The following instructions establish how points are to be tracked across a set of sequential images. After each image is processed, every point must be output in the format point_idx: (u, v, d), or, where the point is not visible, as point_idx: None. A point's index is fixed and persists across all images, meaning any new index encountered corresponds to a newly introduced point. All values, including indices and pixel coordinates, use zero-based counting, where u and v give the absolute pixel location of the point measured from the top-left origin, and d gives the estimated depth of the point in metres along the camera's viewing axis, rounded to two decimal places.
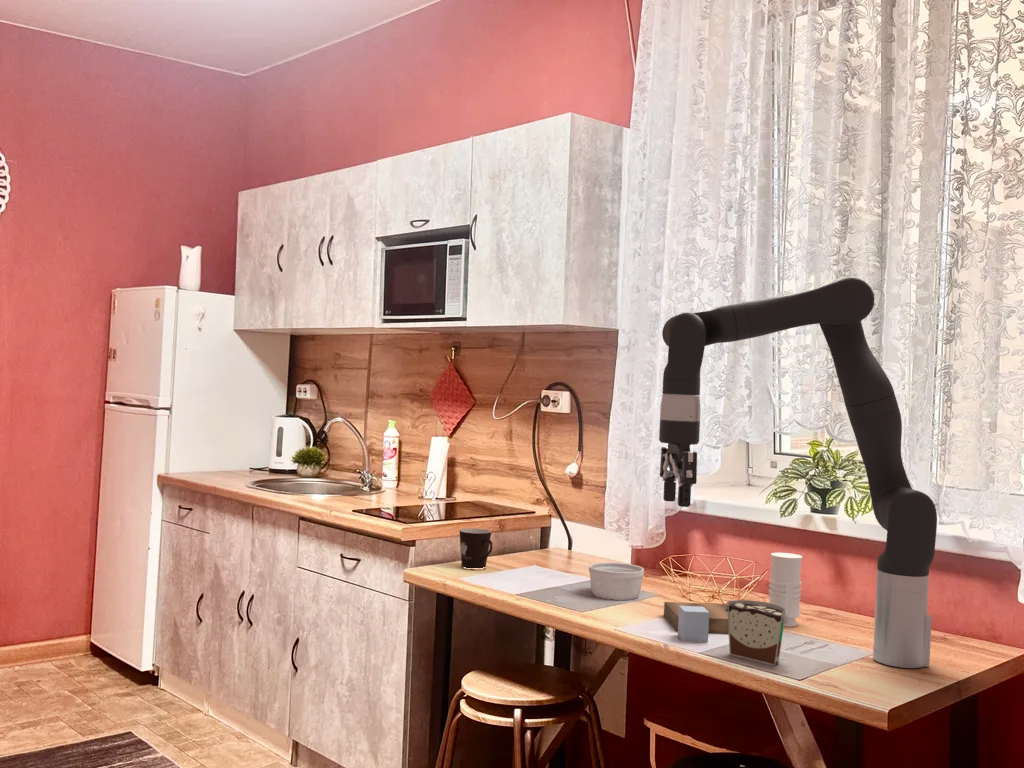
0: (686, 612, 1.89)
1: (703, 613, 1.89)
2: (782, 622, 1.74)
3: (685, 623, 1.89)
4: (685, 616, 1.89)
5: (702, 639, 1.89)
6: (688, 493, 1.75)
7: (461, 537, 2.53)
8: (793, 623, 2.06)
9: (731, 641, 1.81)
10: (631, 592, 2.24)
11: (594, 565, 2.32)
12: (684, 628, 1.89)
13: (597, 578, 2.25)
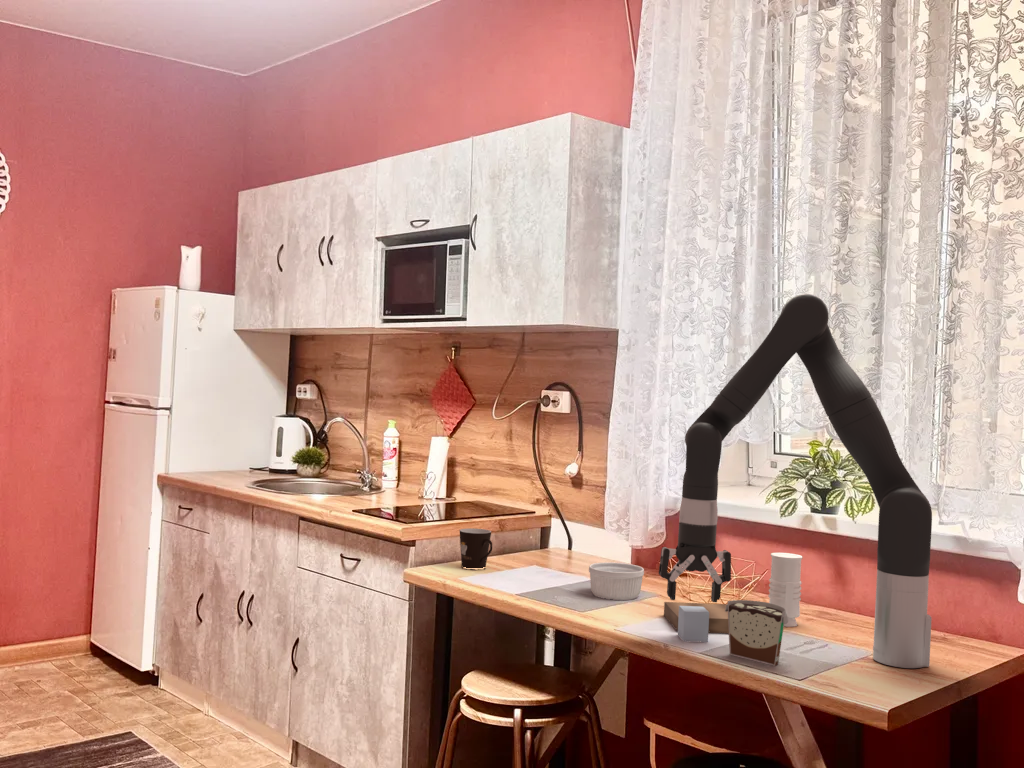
0: (686, 612, 1.89)
1: (703, 613, 1.89)
2: (782, 622, 1.74)
3: (685, 623, 1.89)
4: (685, 616, 1.89)
5: (702, 639, 1.89)
6: None
7: (461, 537, 2.53)
8: (793, 623, 2.06)
9: (731, 641, 1.81)
10: (631, 592, 2.24)
11: (594, 565, 2.32)
12: (684, 628, 1.89)
13: (597, 578, 2.25)
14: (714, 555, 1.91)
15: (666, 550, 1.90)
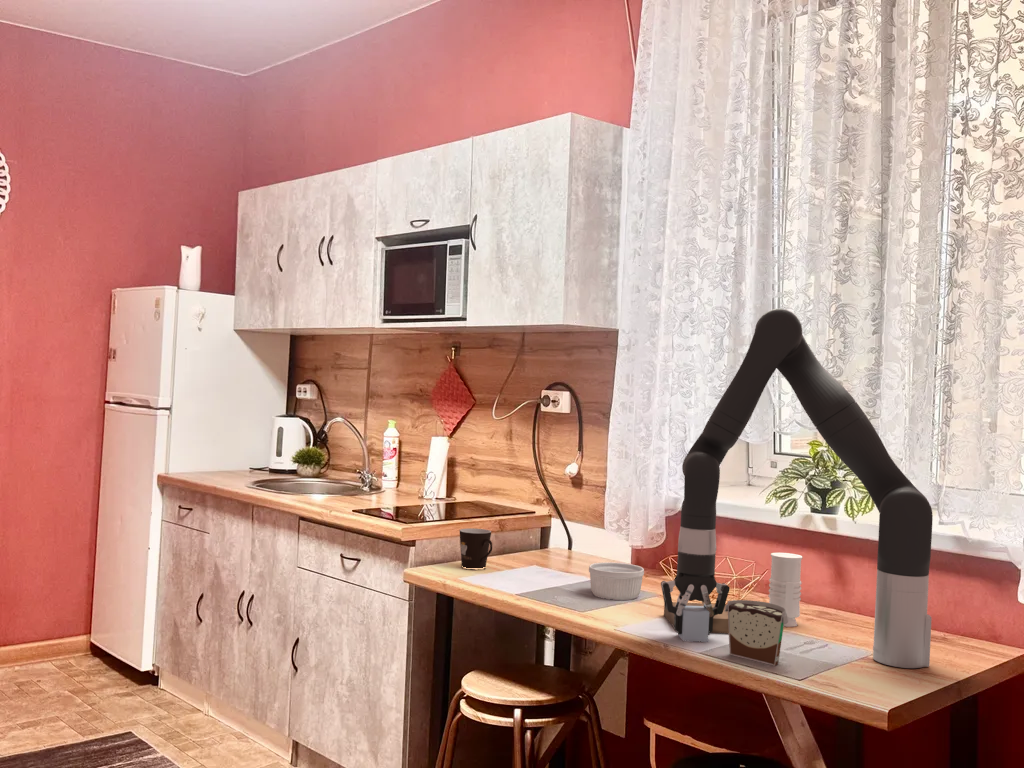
0: (686, 612, 1.89)
1: (703, 613, 1.89)
2: (782, 622, 1.74)
3: (685, 623, 1.89)
4: (685, 616, 1.89)
5: (702, 639, 1.89)
6: None
7: (461, 537, 2.53)
8: (793, 623, 2.06)
9: (731, 641, 1.81)
10: (631, 592, 2.24)
11: (594, 565, 2.32)
12: (684, 627, 1.89)
13: (597, 578, 2.25)
14: (713, 585, 1.91)
15: (665, 585, 1.90)
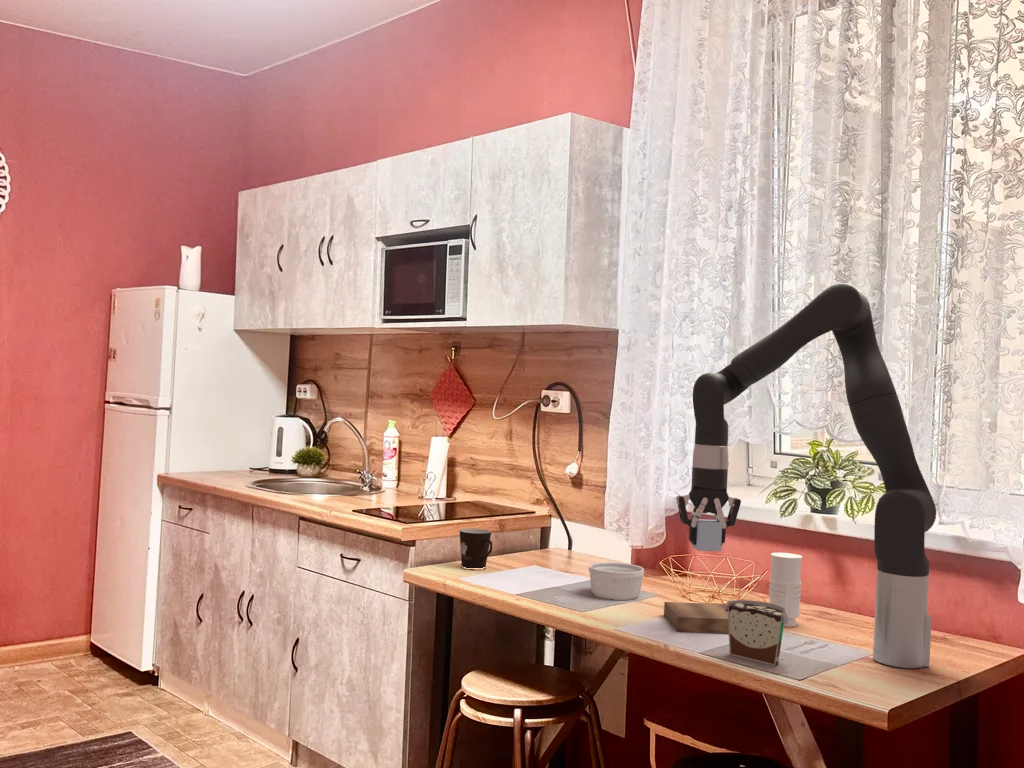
0: (700, 523, 2.01)
1: (716, 524, 2.01)
2: (782, 622, 1.74)
3: (699, 533, 2.01)
4: (699, 527, 2.01)
5: (715, 548, 2.01)
6: None
7: (461, 537, 2.53)
8: (793, 623, 2.06)
9: (731, 641, 1.81)
10: (631, 592, 2.24)
11: (594, 565, 2.32)
12: (699, 537, 2.01)
13: (597, 578, 2.25)
14: (725, 498, 2.03)
15: (680, 498, 2.02)
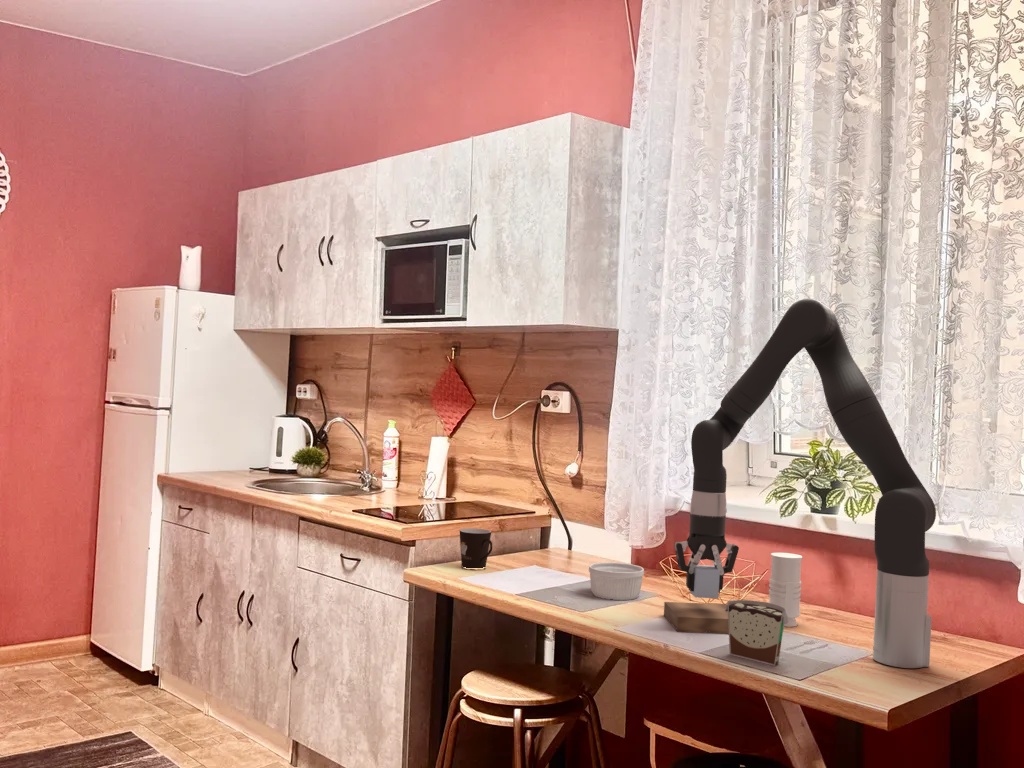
0: (698, 570, 2.01)
1: (714, 571, 2.01)
2: (782, 622, 1.74)
3: (697, 580, 2.01)
4: (697, 574, 2.01)
5: (713, 595, 2.01)
6: None
7: (461, 537, 2.53)
8: (793, 623, 2.06)
9: (731, 641, 1.81)
10: (631, 592, 2.24)
11: (594, 565, 2.32)
12: (696, 584, 2.01)
13: (597, 578, 2.25)
14: (723, 545, 2.03)
15: (678, 545, 2.02)
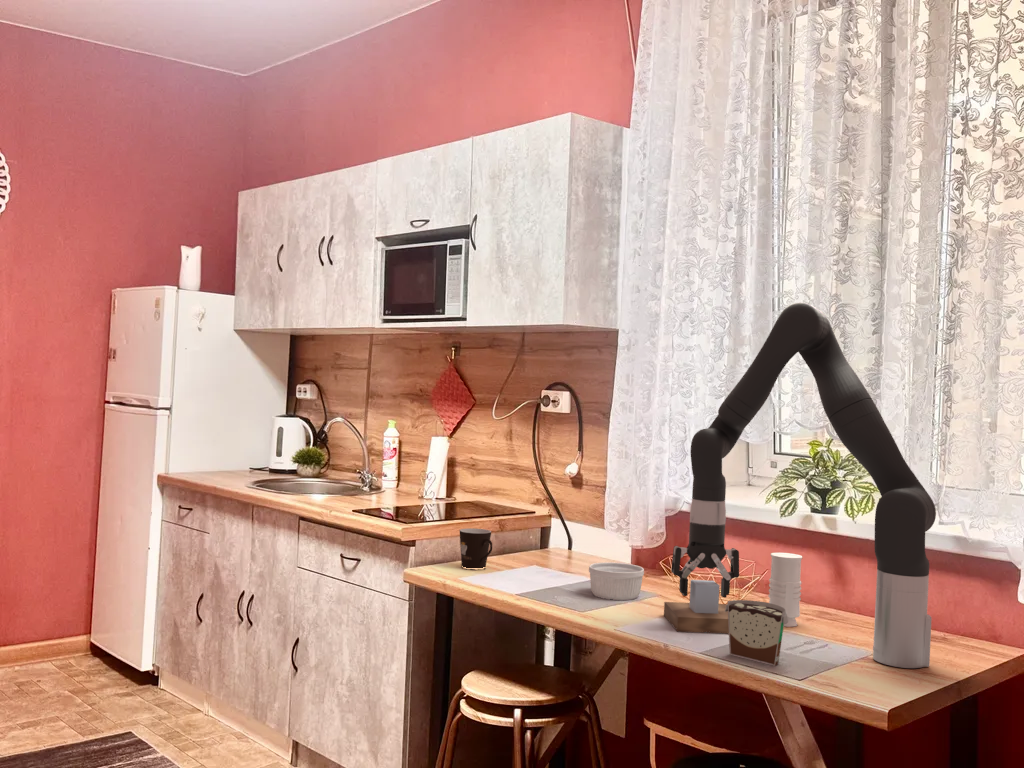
0: (698, 585, 2.01)
1: (714, 586, 2.01)
2: (782, 622, 1.74)
3: (697, 595, 2.01)
4: (697, 589, 2.01)
5: (713, 610, 2.01)
6: None
7: (461, 537, 2.53)
8: (793, 623, 2.06)
9: (731, 641, 1.81)
10: (631, 592, 2.24)
11: (594, 565, 2.32)
12: (696, 600, 2.01)
13: (597, 578, 2.25)
14: (723, 553, 2.03)
15: (678, 549, 2.02)
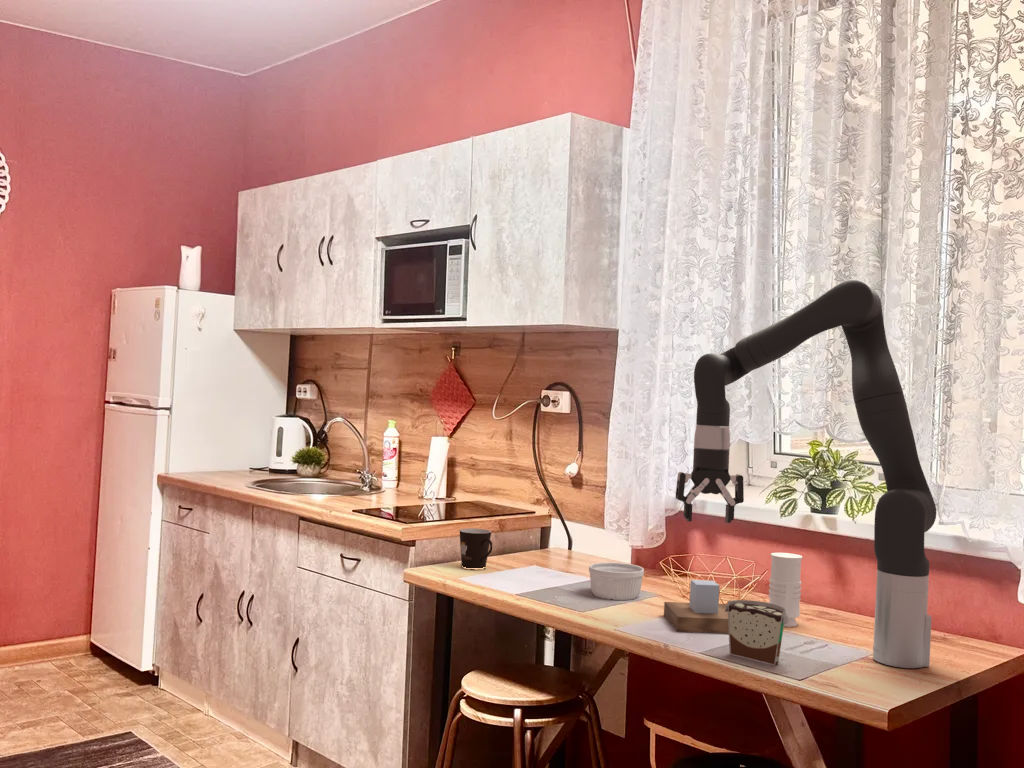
0: (698, 585, 2.01)
1: (714, 586, 2.01)
2: (782, 622, 1.74)
3: (697, 595, 2.01)
4: (697, 589, 2.01)
5: (713, 610, 2.01)
6: None
7: (461, 537, 2.53)
8: (793, 623, 2.06)
9: (731, 641, 1.81)
10: (631, 592, 2.24)
11: (594, 565, 2.32)
12: (696, 600, 2.01)
13: (597, 578, 2.25)
14: (727, 478, 2.03)
15: (682, 474, 2.02)
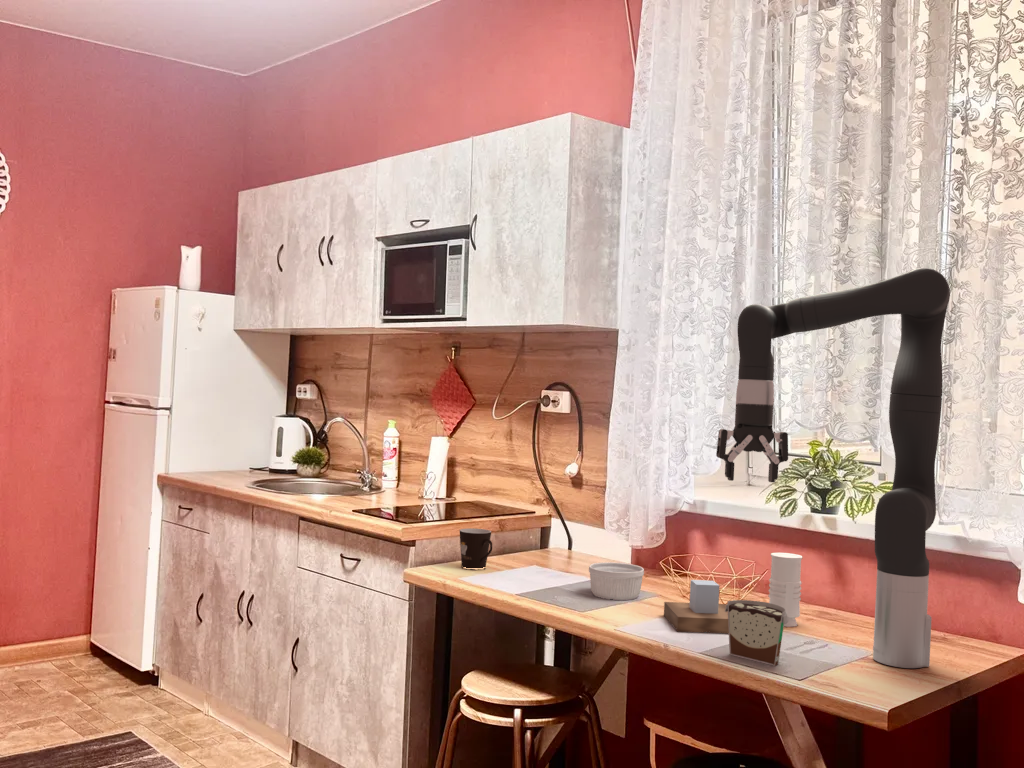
0: (698, 585, 2.01)
1: (714, 586, 2.01)
2: (782, 622, 1.74)
3: (697, 595, 2.01)
4: (697, 589, 2.01)
5: (713, 610, 2.01)
6: None
7: (461, 537, 2.53)
8: (793, 623, 2.06)
9: (731, 641, 1.81)
10: (631, 592, 2.24)
11: (594, 565, 2.32)
12: (696, 600, 2.01)
13: (597, 578, 2.25)
14: (771, 435, 1.93)
15: (724, 431, 1.93)
